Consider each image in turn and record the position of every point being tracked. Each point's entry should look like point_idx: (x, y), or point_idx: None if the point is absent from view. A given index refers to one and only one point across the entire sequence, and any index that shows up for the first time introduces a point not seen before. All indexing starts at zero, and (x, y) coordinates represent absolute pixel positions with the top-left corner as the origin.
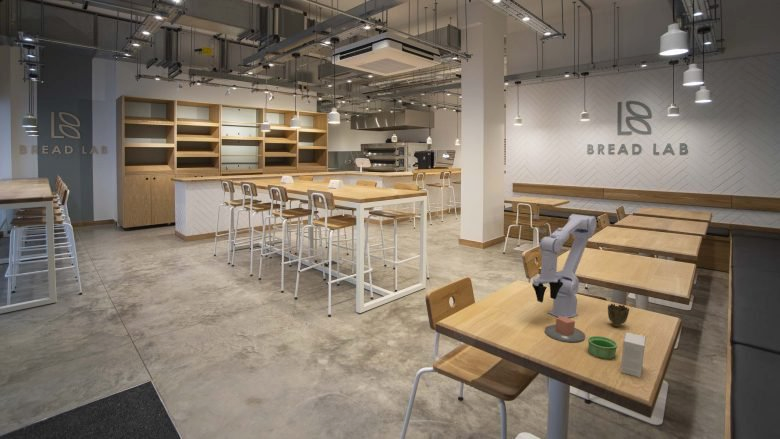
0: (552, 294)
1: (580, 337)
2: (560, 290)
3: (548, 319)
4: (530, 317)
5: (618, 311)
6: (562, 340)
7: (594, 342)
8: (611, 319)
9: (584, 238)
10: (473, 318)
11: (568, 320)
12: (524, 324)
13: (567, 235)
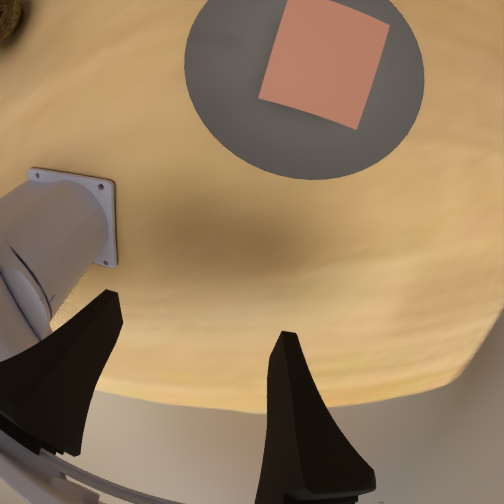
0: (106, 339)
1: None
2: (13, 317)
3: (177, 227)
4: (233, 291)
5: None
6: (416, 48)
7: None
8: (6, 16)
9: None
10: (391, 377)
11: (322, 31)
12: (340, 274)
13: None
